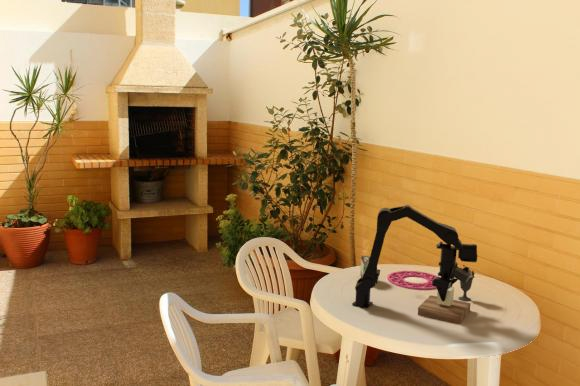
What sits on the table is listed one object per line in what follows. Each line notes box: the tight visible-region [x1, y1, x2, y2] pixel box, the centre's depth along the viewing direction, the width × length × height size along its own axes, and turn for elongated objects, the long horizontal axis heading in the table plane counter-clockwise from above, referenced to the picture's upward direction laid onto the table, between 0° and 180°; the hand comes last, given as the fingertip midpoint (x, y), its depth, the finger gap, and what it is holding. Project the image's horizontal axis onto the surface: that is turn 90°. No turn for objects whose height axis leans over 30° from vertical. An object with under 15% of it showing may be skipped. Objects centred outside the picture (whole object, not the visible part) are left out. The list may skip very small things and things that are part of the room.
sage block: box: [436, 286, 455, 306], centre depth 219 cm, size 5×5×6 cm
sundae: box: [458, 264, 476, 302], centre depth 234 cm, size 7×7×15 cm
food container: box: [359, 254, 370, 278], centre depth 256 cm, size 12×6×10 cm, turn 179°
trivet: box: [386, 270, 439, 291], centre depth 258 cm, size 25×25×1 cm
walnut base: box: [417, 294, 472, 325], centre depth 220 cm, size 16×16×3 cm
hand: (445, 299), depth 219 cm, fingers closed on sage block, 5 cm apart
